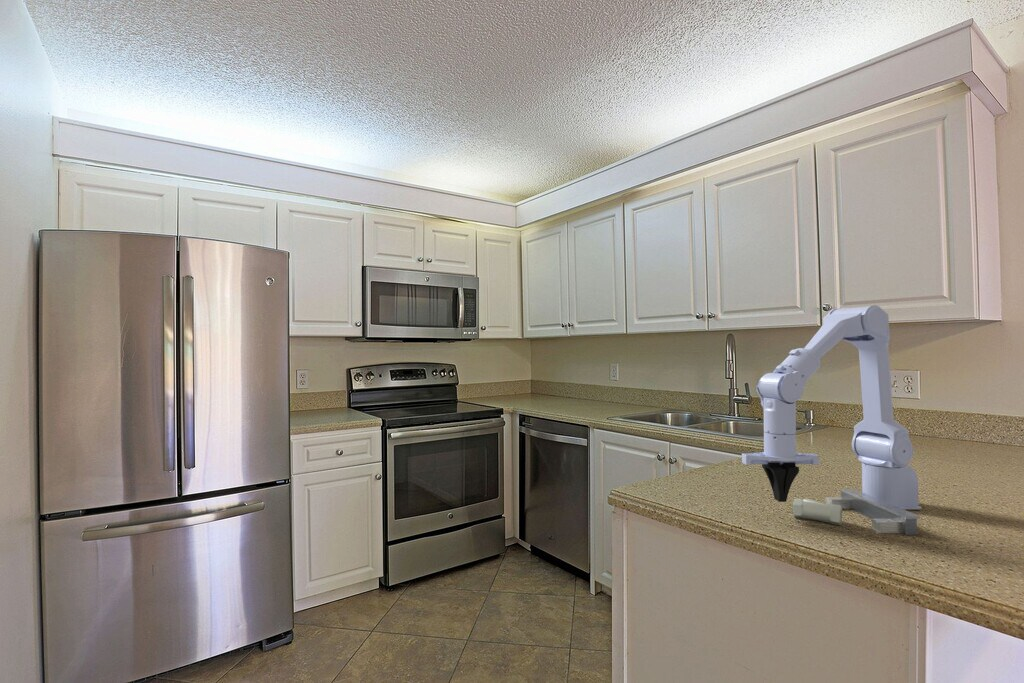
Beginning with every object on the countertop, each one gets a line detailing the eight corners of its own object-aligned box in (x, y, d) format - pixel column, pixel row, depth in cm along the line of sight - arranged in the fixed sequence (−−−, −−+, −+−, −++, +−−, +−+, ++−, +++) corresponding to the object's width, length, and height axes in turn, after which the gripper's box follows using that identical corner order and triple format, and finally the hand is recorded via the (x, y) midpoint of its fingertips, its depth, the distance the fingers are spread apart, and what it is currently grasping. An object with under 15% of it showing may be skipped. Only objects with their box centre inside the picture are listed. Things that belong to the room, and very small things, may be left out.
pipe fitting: (798, 513, 105) (792, 519, 100) (798, 494, 106) (792, 499, 100) (843, 521, 100) (840, 527, 95) (843, 501, 101) (840, 507, 95)
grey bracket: (853, 504, 109) (852, 488, 109) (920, 535, 91) (919, 515, 91) (822, 504, 109) (822, 488, 109) (884, 535, 91) (883, 516, 91)
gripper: (804, 429, 104) (804, 494, 104) (734, 429, 104) (735, 494, 104) (825, 435, 97) (825, 505, 97) (750, 435, 97) (751, 504, 97)
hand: (780, 500), depth 100 cm, fingers closed
